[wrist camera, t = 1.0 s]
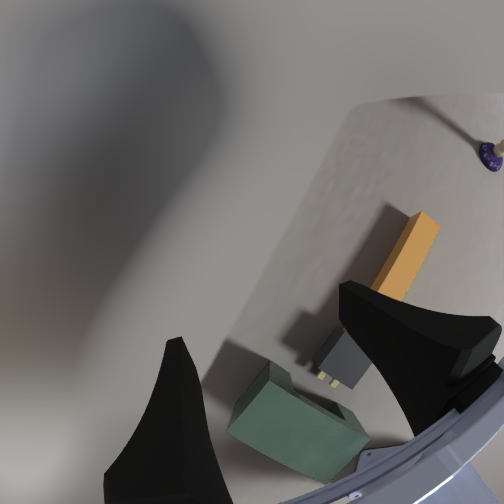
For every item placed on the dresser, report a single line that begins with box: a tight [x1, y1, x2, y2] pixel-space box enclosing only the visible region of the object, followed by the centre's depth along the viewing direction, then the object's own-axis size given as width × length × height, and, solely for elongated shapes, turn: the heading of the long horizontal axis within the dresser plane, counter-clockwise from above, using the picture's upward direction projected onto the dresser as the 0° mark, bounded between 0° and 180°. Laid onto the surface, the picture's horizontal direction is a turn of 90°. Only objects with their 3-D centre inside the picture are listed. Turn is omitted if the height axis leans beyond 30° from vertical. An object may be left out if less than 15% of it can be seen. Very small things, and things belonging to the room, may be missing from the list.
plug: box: [313, 211, 440, 389], centre depth 26 cm, size 19×4×4 cm, turn 145°
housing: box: [226, 360, 370, 484], centre depth 23 cm, size 6×11×7 cm, turn 55°
